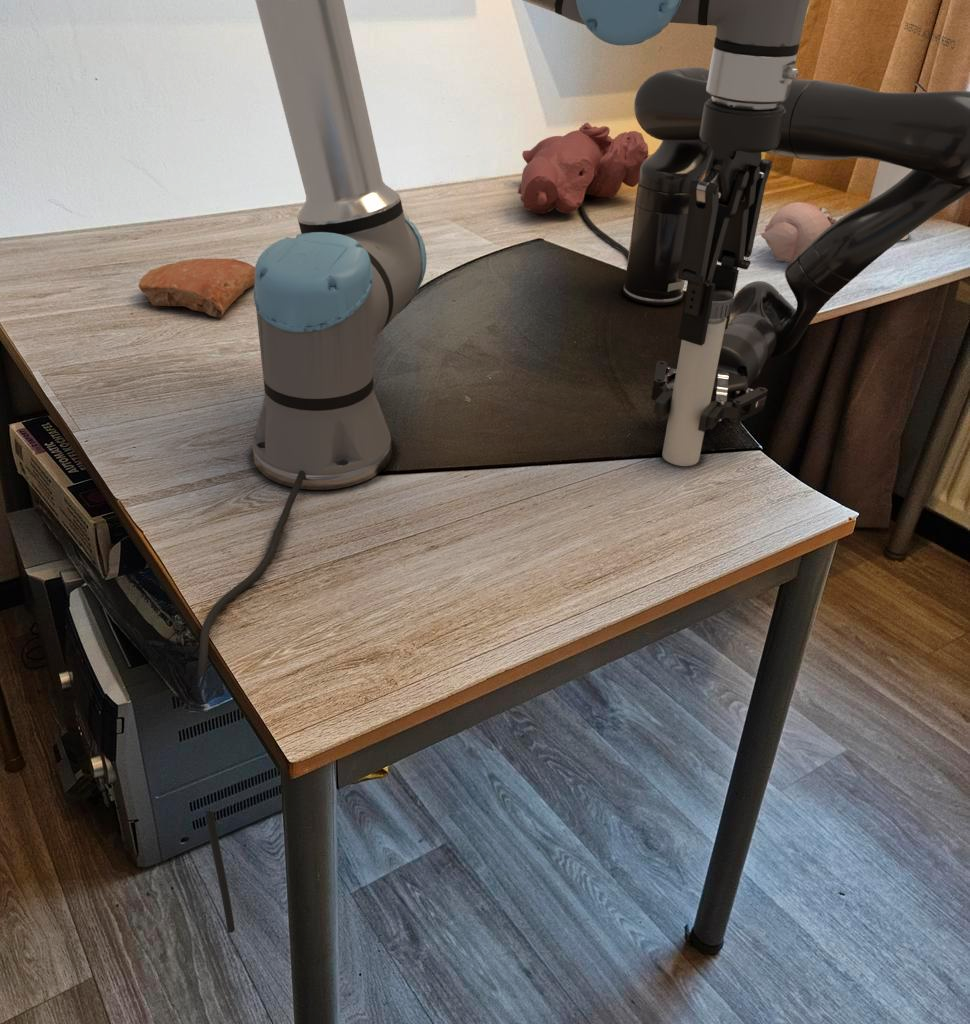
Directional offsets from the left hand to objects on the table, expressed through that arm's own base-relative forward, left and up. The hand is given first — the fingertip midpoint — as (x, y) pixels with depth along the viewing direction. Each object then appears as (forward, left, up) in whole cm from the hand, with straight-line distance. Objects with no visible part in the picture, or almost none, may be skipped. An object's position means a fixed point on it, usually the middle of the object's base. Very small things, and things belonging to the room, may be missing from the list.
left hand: (703, 332), depth 103 cm
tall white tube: (+100, -22, -15) cm, 104 cm away
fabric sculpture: (+91, +36, -15) cm, 99 cm away
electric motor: (+55, +60, -15) cm, 82 cm away
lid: (0, 0, +4) cm, 4 cm away
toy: (+77, -7, -15) cm, 79 cm away
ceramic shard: (+18, +76, -15) cm, 79 cm away
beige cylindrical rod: (0, 0, -15) cm, 15 cm away
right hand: (-3, 0, -9) cm, 9 cm away
